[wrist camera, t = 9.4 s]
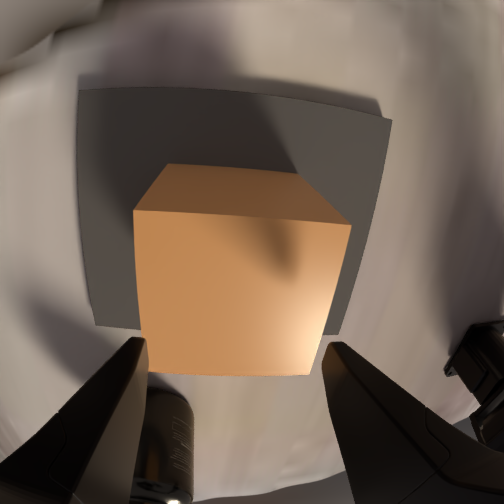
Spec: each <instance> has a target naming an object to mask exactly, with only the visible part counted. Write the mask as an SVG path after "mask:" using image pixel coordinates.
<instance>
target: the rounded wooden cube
mask: <svg viewBox="0 0 504 504" xmlns="http://www.w3.org/2000/svg"><path fill="white" fill-rule="evenodd" d="M133 219H134V247H135V266H136V280H137V293H138V304H139V314H140V324H141V333H142V338H145V339H146V341H147V349H148V357H149V369H148V372H159V373H173V374H190V375H214V376H284V375H309V373H310V370H311V367H312V364H313V361H314V358H315V355H316V352H317V349H318V346H319V343H320V340H321V337H322V333H323V330H324V327H325V323H326V320H327V317H328V313H329V310H330V307H331V303H332V300H333V296H334V293H335V289H336V285H337V282H338V278H339V274H340V271H341V267H342V263H343V259H344V255H345V251H346V247H347V243H348V239H349V235H350V231H351V226H352V225H351V224H350V223H349V222H348V221H347V220H346V219H345V218H344V217H343V216H342V215H341V214H340V213H339V212H338V211H337V210H336V209H335V208H334V207H333V206H332V205H331V204H330V203H329V202H328V201H327V200H325V199H324V198H323V197H322V196H321V195H320V194H319V193H318V192H317V191H316V190H315V189H314V188H313V187H312V186H311V185H310V184H308V183H307V182H306V181H305V180H304V179H303V178H302V177H301V176H300V175H299V174H296V173H287V172H277V171H268V170H257V169H246V168H234V167H220V166H205V165H188V164H167V165H166V167H165V168H164V169H163V171H162V172H161V173H160V175H159V176H158V177H157V178H156V180H155V181H154V182H153V184H152V185H151V186H150V188H149V189H148V191H147V192H146V193H145V195H144V196H143V197H142V199H141V200H140V201H139V203H138V204H137V206H136V207H135V208H134V210H133Z"/></svg>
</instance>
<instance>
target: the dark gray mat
mask: <svg viewBox="0 0 504 504" xmlns="http://www.w3.org/2000/svg"><path fill="white" fill-rule="evenodd" d="M391 125H392V120H391V119H387V118H384V117H380V116H376V115H372V114H368V113H364V112H360V111H355V110H351V109H346V108H342V107H337V106H332V105H327V104H322V103H316V102H311V101H305V100H299V99H293V98H286V97H280V96H272V95H265V94H256V93H248V92H238V91H227V90H213V89H197V88H168V87H135V88H107V89H91V90H79V101H78V123H77V174H78V197H79V212H80V224H81V234H82V244H83V252H84V260H85V268H86V275H87V281H88V287H89V293H90V299H91V305H92V310H93V315H94V320H95V325H97V326H106V327H116V328H126V329H137V330H141V324H140V314H139V304H138V293H137V280H136V266H135V247H134V219H133V210H134V208H135V207H136V206H137V204H138V203H139V201H140V200H141V199H142V197H143V196H144V195H145V193H146V192H147V191H148V189H149V188H150V186H151V185H152V184H153V182H154V181H155V180H156V178H157V177H158V176H159V175H160V173H161V172H162V171H163V169H164V168H165V167H166V165H167V164H188V165H205V166H220V167H234V168H246V169H257V170H268V171H277V172H287V173H296V174H299V175H300V176H301V177H302V178H303V179H304V180H305V181H306V182H307V183H308V184H310V185H311V186H312V187H313V188H314V189H315V190H316V191H317V192H318V193H319V194H320V195H321V196H322V197H323V198H324V199H325V200H327V201H328V202H329V203H330V204H331V205H332V206H333V207H334V208H335V209H336V210H337V211H338V212H339V213H340V214H341V215H342V216H343V217H344V218H345V219H346V220H347V221H348V222H349V223H350V224H351V225H352V226H351V231H350V235H349V239H348V243H347V247H346V251H345V255H344V259H343V263H342V267H341V271H340V274H339V278H338V282H337V285H336V289H335V293H334V296H333V300H332V303H331V307H330V310H329V313H328V317H327V320H326V323H325V327H324V330H323V333H322V335H338V334H339V331H340V328H341V325H342V322H343V319H344V316H345V313H346V310H347V307H348V304H349V300H350V297H351V294H352V291H353V287H354V284H355V281H356V277H357V274H358V270H359V267H360V263H361V260H362V256H363V253H364V249H365V245H366V242H367V238H368V234H369V230H370V226H371V222H372V218H373V214H374V210H375V205H376V201H377V197H378V192H379V188H380V183H381V178H382V174H383V169H384V164H385V159H386V153H387V148H388V143H389V137H390V131H391Z"/></svg>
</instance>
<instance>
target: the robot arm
mask: <svg viewBox="0 0 504 504" xmlns="http://www.w3.org/2000/svg"><path fill="white" fill-rule="evenodd" d="M503 333H504V320H503V321H496V322H489V323H482V324H475V325H472V326H471V327H470V329H469V330H468V332H467V334H466V336H465V338H464V340H463V342H462V343H461V345H460V347H459V349H458V351H457V352H456V354H455V356H454V358H453V359H452V361H451V363H450V364H449V366H448V368H447V369H446V371H445V375H446V377H450V376H454V375H458V376H459V377H460V378H461V380H462V381H463V383H464V384H465V386H466V387H467V389H468V390H469V391H470V393H473V395H474V396H475V398H476V399H477V401H478V402H479V404H480V405H481V406H480V407H479V408H478V409H477V410H476V411H475V412H473V413H472V414H471V415H470V416H469V417H470V420H471V424H472V427H473V429H474V432H475V434H476V437H477V439H478V441H476V440H475V439H473V438H471V437H470V436H468V435H466V434H465V433H463V432H462V431H460V430H458V429H457V428H455V427H454V426H452V425H451V424H449V423H448V422H446V421H445V420H444V419H442V418H441V417H440V416H438V415H437V414H435V413H434V412H433V411H432V410H430V409H429V408H428V407H425V405H424V404H422V403H421V402H420V401H418V400H417V399H416V398H415V397H413V396H412V395H411V394H409V393H408V392H407V391H406V390H404V389H403V388H402V387H400V386H399V385H398V384H397V383H395V382H394V381H393V380H391V379H390V378H389V377H388V376H386V375H385V374H384V373H382V372H381V371H380V370H379V369H377V368H376V367H375V366H373V365H372V364H371V363H370V362H368V361H367V360H366V359H365V358H363V357H362V356H361V355H359V354H358V353H357V352H356V351H354V350H353V349H352V348H351V347H349V346H348V345H347V344H346V343H344V342H341V341H340V342H330V343H329V344H328V346H327V349H326V352H325V355H324V358H323V361H322V374H323V379H324V385H325V391H326V397H327V403H328V408H329V413H330V417H331V420H332V424H333V427H334V431H335V434H336V437H337V441H338V444H339V448H340V451H341V455H342V458H343V462H344V465H345V469H346V472H347V476H348V480H349V483H350V486H351V490H352V494H353V498H354V501H355V504H504V337H503V336H502V334H503ZM148 369H149V357H148V349H147V341H146V339H145V338H142V337H131V338H129V339H128V340H127V341H126V342H125V343H124V344H123V345H122V346H121V347H120V348H119V349H118V350H117V351H116V352H115V353H114V354H113V355H112V356H111V357H110V358H109V359H108V360H107V361H106V362H105V363H104V364H103V365H102V366H101V368H100V369H99V370H98V371H97V372H96V373H95V374H94V375H93V376H92V377H91V378H90V379H89V380H88V381H87V382H86V383H85V384H84V385H83V386H82V387H81V388H80V389H79V390H78V391H77V392H76V393H75V394H74V395H73V396H72V397H71V398H70V399H69V400H68V401H67V402H66V403H65V404H64V405H63V406H62V408H61V409H60V410H59V411H58V413H56V414H55V415H54V416H53V417H52V418H51V419H50V420H49V421H48V422H47V423H46V424H45V425H44V426H43V427H42V428H41V429H40V430H39V431H38V432H37V433H36V434H34V435H33V436H32V437H31V438H30V439H29V440H28V441H26V442H25V443H24V444H23V445H22V446H21V447H19V448H18V449H17V450H16V451H14V452H13V453H12V454H11V455H10V456H8V457H7V458H6V459H5V460H3V461H2V462H1V463H0V504H129V499H130V492H131V486H132V480H133V473H134V468H135V462H136V456H137V451H138V445H139V440H140V435H141V430H142V425H143V420H144V414H145V404H146V391H147V380H148Z"/></svg>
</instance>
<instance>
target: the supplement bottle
mask: <svg viewBox="0 0 504 504" xmlns="http://www.w3.org/2000/svg"><path fill="white" fill-rule="evenodd" d="M193 495H194V414H193V411H192V409H191V407H190V406H189V405H188V404H187V403H186V402H185V401H184V400H183V399H181V398H180V397H178V396H177V395H175V394H173V393H170V392H168V391H164V390H161V389H156V388H147V391H146V404H145V414H144V420H143V425H142V430H141V435H140V440H139V445H138V451H137V456H136V462H135V468H134V473H133V480H132V486H131V492H130V499H129V504H191V503H192V502H193Z"/></svg>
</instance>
